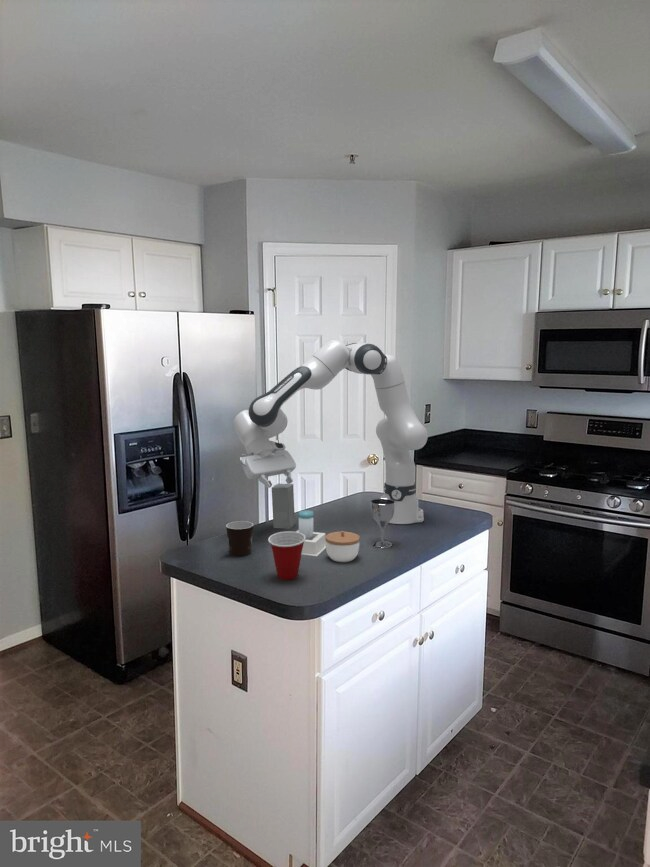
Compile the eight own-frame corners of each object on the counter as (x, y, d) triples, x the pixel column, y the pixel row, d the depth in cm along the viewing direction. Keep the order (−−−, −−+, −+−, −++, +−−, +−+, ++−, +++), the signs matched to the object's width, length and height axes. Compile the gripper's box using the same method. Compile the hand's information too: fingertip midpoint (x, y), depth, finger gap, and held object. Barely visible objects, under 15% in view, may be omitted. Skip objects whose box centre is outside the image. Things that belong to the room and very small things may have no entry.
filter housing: (295, 542, 206) (295, 529, 205) (329, 546, 202) (329, 532, 201) (281, 554, 195) (281, 539, 194) (317, 558, 191) (317, 543, 190)
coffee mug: (246, 561, 188) (245, 530, 186) (221, 558, 191) (220, 527, 189) (262, 549, 199) (262, 520, 197) (239, 546, 202) (238, 517, 200)
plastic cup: (261, 580, 173) (260, 539, 171) (279, 567, 183) (279, 529, 181) (295, 586, 169) (295, 545, 167) (312, 573, 179) (312, 533, 177)
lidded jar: (351, 553, 196) (351, 524, 195) (365, 564, 186) (365, 534, 185) (320, 556, 192) (320, 528, 191) (332, 568, 182) (332, 538, 181)
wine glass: (377, 539, 210) (378, 497, 207) (398, 543, 205) (399, 500, 203) (365, 545, 203) (366, 501, 201) (386, 550, 199) (387, 505, 196)
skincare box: (290, 531, 219) (289, 488, 216) (270, 529, 220) (270, 487, 218) (295, 524, 227) (295, 482, 224) (277, 523, 228) (277, 482, 226)
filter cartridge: (301, 544, 201) (301, 509, 199) (315, 546, 200) (315, 511, 198) (296, 549, 197) (296, 513, 195) (310, 551, 195) (310, 515, 193)
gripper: (241, 449, 199) (261, 483, 194) (287, 443, 214) (306, 475, 209) (233, 461, 203) (252, 494, 198) (278, 454, 218) (297, 485, 213)
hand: (280, 484), depth 204 cm, fingers open, 8 cm apart
